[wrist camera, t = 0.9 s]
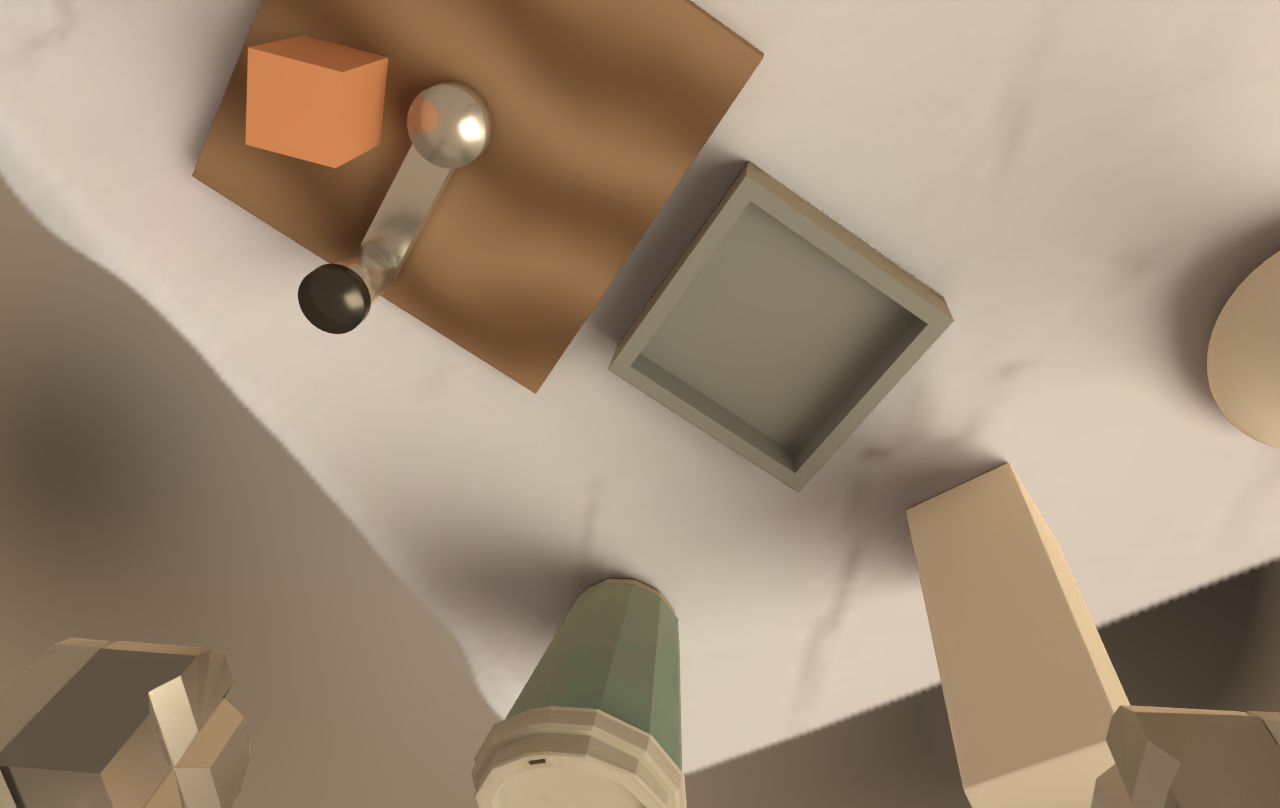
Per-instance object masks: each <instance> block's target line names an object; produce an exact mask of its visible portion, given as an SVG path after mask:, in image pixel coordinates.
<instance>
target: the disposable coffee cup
mask: <svg viewBox="0 0 1280 808" xmlns="http://www.w3.org/2000/svg"><path fill="white" fill-rule="evenodd" d="M474 760H475V764H474V767H473V771H472V778H473V783H474V787H475V794H474V795H475V798H476V802H477V806H478V808H687V806H686V794H685V780H684V774H683V772H682V746H681V699H680V651H679V631H678V618H677V617H676V616H675V614H674V610H673V609H672V607H671V606H670V605H669V603H668V602H667V601H666V600H665V598H664V597H663V596H662V594H661V593H660V592H659V591H657V590H655V589H653V588H651V587H649V586H647V585H645V584H643V583H641V582H639V581H637V580H632V579H607V580H604V581H602V582H600V583H598V584H596V585H594V586H592V587H589V588H587V589H586V591H585V592H582V593H580V595H579V596H578V598H577V600H576V601H575V603H574V605H573V606H572V608H571V610H570V611H569V613H568V615H567V616H566V618H565V620H564V621H563V623H562V625H561V627H560V628H559V630H558V632H557V633H556V635H555V637H554V638H553V640H552V642H551V643H550V645H549V647H548V648H547V650H546V652H545V653H544V655H543V657H542V658H541V660H540V662H539V663H538V665H537V667H536V668H535V670H534V672H533V673H532V675H531V677H530V678H529V680H528V682H527V683H526V685H525V687H524V688H523V690H522V692H521V694H520V695H519V697H518V699H517V700H516V702H515V704H514V705H513V707H512V709H511V710H510V712H509V714H508V715H507V717H506V719H505V720H503V721H501V722H498V723H496V724H494V725H493V727H492V729H491V731H490V732H489V734H488V736H487V738H486V739H485V741H484V743H483V745H482V746H481V748H480V750H479V751H478V753H477V755H476V757H475V758H474Z"/></svg>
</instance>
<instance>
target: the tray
mask: <svg viewBox="0 0 1280 808" xmlns="http://www.w3.org/2000/svg"><path fill="white" fill-rule="evenodd" d="M953 321H954V320H953V318H952V315H951V313H950V311H949V308H948V306H947V304H946V301H945V299H944V298H943V297H942V296H941V295H939V294H938V293H936V292H935V291H934V290H932V289H931V288H929V287H928V286H926V285H925V284H924V283H922V282H921V281H919V280H918V279H916V278H915V277H914V276H912V275H911V274H909V273H908V272H906V271H905V270H904V269H902V268H901V267H899V266H898V265H896V264H895V263H894V262H892V261H891V260H889V259H888V258H886V257H885V256H884V255H882V254H881V253H879V252H878V251H876V250H875V249H874V248H872V247H871V246H869V245H868V244H867V243H865V242H864V241H862V240H861V239H859V238H858V237H857V236H855V235H854V234H852V233H851V232H849V231H848V230H847V229H845V228H844V227H842V226H841V225H839V224H838V223H837V222H835V221H834V220H832V219H831V218H829V217H828V216H827V215H825V214H824V213H822V212H821V211H819V210H818V209H817V208H815V207H814V206H812V205H811V204H810V203H808V202H807V201H805V200H804V199H802V198H801V197H800V196H798V195H797V194H795V193H794V192H792V191H791V190H790V189H788V188H787V187H785V186H784V185H782V184H781V183H780V182H778V181H777V180H775V179H774V178H772V177H771V176H770V175H768V174H767V173H765V172H764V171H762V170H761V169H760V168H758V167H757V166H755V165H754V164H752V163H751V162H750V161H748V162H747V164H746V165H745V166H744V168H743V169H742V171H741V172H740V173H739V175H738V176H737V178H736V179H735V181H734V182H733V183H732V185H731V186H730V188H729V189H728V190H727V192H726V193H725V195H724V196H723V197H722V199H721V200H720V202H719V203H718V205H717V206H716V207H715V209H714V210H713V212H712V213H711V214H710V216H709V217H708V219H707V220H706V222H705V223H704V224H703V226H702V227H701V229H700V230H699V231H698V233H697V234H696V236H695V237H694V238H693V240H692V241H691V243H690V244H689V246H688V247H687V248H686V250H685V251H684V253H683V254H682V255H681V257H680V258H679V260H678V261H677V262H676V264H675V265H674V267H673V268H672V270H671V271H670V272H669V274H668V275H667V277H666V278H665V279H664V281H663V282H662V284H661V285H660V286H659V288H658V289H657V291H656V292H655V294H654V295H653V296H652V298H651V299H650V301H649V302H648V303H647V305H646V306H645V308H644V309H643V310H642V312H641V313H640V315H639V316H638V318H637V319H636V320H635V322H634V323H633V325H632V326H631V327H630V329H629V330H628V332H627V333H626V334H625V336H624V337H623V339H622V340H621V342H620V343H619V344H618V346H617V348H616V351H615V353H614V356H613V358H612V361H611V363H610V366H609V368H608V370H610V371H611V372H613V373H614V374H616V375H617V376H619V377H620V378H622V379H623V380H625V381H627V382H628V383H630V384H631V385H633V386H634V387H636V388H637V389H639V390H641V391H642V392H644V393H645V394H647V395H648V396H650V397H651V398H653V399H654V400H656V401H658V402H659V403H661V404H662V405H664V406H665V407H667V408H668V409H670V410H671V411H673V412H675V413H676V414H678V415H679V416H681V417H682V418H684V419H685V420H687V421H688V422H690V423H692V424H693V425H695V426H696V427H698V428H699V429H701V430H702V431H704V432H706V433H707V434H709V435H710V436H712V437H713V438H715V439H716V440H718V441H719V442H721V443H723V444H724V445H726V446H727V447H729V448H730V449H732V450H733V451H735V452H736V453H738V454H740V455H741V456H743V457H744V458H746V459H747V460H749V461H750V462H752V463H753V464H755V465H757V466H758V467H760V468H761V469H763V470H764V471H766V472H767V473H769V474H771V475H772V476H774V477H775V478H777V479H778V480H780V481H781V482H783V483H784V484H786V485H788V486H789V487H791V488H792V489H794V490H795V491H797V492H799V491H800V490H801V489H802V488H803V487H804V485H805V484H806V483H807V482H808V481H809V480H810V479H811V478H812V477H813V475H814V474H815V473H816V472H817V471H818V470H819V469H820V468H821V467H822V466H823V464H824V463H825V462H826V461H827V460H828V459H829V458H830V457H831V456H832V455H833V453H834V452H835V451H836V450H837V449H838V448H839V447H840V446H841V445H842V443H843V442H844V441H845V440H846V439H847V438H848V437H849V436H850V435H851V434H852V432H853V431H854V430H855V429H856V428H857V427H858V426H859V425H860V424H861V422H862V421H863V420H864V419H865V418H866V417H867V416H868V415H869V414H870V413H871V411H872V410H873V409H874V408H875V407H876V406H877V405H878V404H879V403H880V402H881V400H882V399H883V398H884V397H885V396H886V395H887V394H888V393H889V392H890V390H891V389H892V388H893V387H894V386H895V385H896V384H897V383H898V382H899V381H900V379H901V378H902V377H903V376H904V375H905V374H906V373H907V372H908V371H909V370H910V368H911V367H912V366H913V365H914V364H915V363H916V362H917V361H918V360H919V358H920V357H921V356H922V355H923V354H924V353H925V352H926V351H927V350H928V349H929V347H930V346H931V345H932V344H933V343H934V342H935V341H936V340H937V339H938V338H939V336H940V335H941V334H942V333H943V332H944V331H945V330H946V329H947V328H948V326H949V325H950V324H951V323H952V322H953Z"/></svg>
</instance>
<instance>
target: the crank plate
mask: <svg viewBox="0 0 1280 808" xmlns="http://www.w3.org/2000/svg"><path fill="white" fill-rule="evenodd" d="M302 35H305V36H309V37H313V38H316V39H320V40H324V41H328V42H332V43H336V44H339V45H343V46H347V47H351V48H355V49H358V50H362V51H366V52H370V53H374V54H378V55H381V56H385V57H388V66H387V77H386V87H385V98H384V109H383V119H382V130H381V141H380V145H378V146H376V147H374V148H373V149H371V150H369V151H367V152H365V153H363V154H361V155H359V156H358V157H356V158H354V159H352V160H350V161H348V162H346V163H345V164H343V165H341V166H339V167H337V168H333V167H329V166H325V165H321V164H317V163H314V162H310V161H306V160H302V159H299V158H295V157H291V156H287V155H283V154H280V153H276V152H272V151H268V150H265V149H261V148H257V147H253V146H249V145H246V144H245V143H246V105H247V67H248V47H253V46H257V45H261V44H266V43H270V42H275V41H279V40H284V39H288V38H293V37H297V36H302ZM763 55H764V53H762V52H761V51H759V50H758V49H757V48H755V47H754V46H753V45H751V44H750V43H748V42H747V41H746V40H744V39H743V38H741V37H740V36H739V35H737V34H736V33H735V32H733V31H732V30H730V29H729V28H728V27H726V26H725V25H723V24H722V23H721V22H719V21H718V20H717V19H715V18H714V17H712V16H711V15H710V14H708V13H707V12H706V11H704V10H703V9H701V8H700V7H699V6H697V5H696V4H694V3H693V2H692V1H690V0H262V1H261V3H260V6H259V8H258V11H257V13H256V16H255V18H254V21H253V23H252V26H251V29H250V31H249V34H248V36H247V39H246V41H245V44H244V46H243V49H242V51H241V54H240V56H239V59H238V61H237V64H236V66H235V69H234V71H233V74H232V76H231V79H230V81H229V84H228V86H227V89H226V92H225V94H224V97H223V99H222V102H221V104H220V107H219V109H218V112H217V114H216V117H215V119H214V122H213V124H212V127H211V129H210V132H209V134H208V137H207V139H206V142H205V144H204V147H203V150H202V152H201V155H200V157H199V160H198V162H197V165H196V167H195V170H194V172H193V175H192V176H193V177H194V178H196V179H198V180H199V181H201V182H202V183H204V184H205V185H207V186H209V187H210V188H212V189H213V190H215V191H216V192H218V193H220V194H221V195H223V196H224V197H226V198H228V199H229V200H231V201H232V202H234V203H235V204H237V205H239V206H240V207H242V208H243V209H245V210H246V211H248V212H250V213H251V214H253V215H254V216H256V217H257V218H259V219H261V220H262V221H264V222H265V223H267V224H269V225H270V226H272V227H273V228H275V229H276V230H278V231H280V232H281V233H283V234H284V235H286V236H287V237H289V238H291V239H292V240H294V241H295V242H297V243H299V244H300V245H302V246H303V247H305V248H306V249H308V250H310V251H311V252H313V253H314V254H316V255H317V256H319V257H321V258H322V259H324V260H325V261H327V262H329V263H330V264H335V263H336V262H338V261H339V260H340V259H342V258H343V257H344V256H346V255H347V254H348V253H350V252H351V251H352V250H354V249H355V248H356V247H358V246H359V245H361V243H362V241H363V239H364V237H365V235H366V233H367V231H368V229H369V228H370V226H371V224H372V222H373V220H374V218H375V216H376V214H377V212H378V210H379V208H380V206H381V204H382V202H383V200H384V198H385V196H386V194H387V192H388V190H389V189H390V187H391V185H392V183H393V181H394V179H395V177H396V175H397V173H398V171H399V169H400V167H401V165H402V163H403V161H404V159H405V157H406V155H407V153H408V151H409V150H410V148H411V146H412V142H411V139H410V137H409V133H408V128H407V117H408V112H409V108H410V106H411V104H412V102H413V100H414V99H415V98H416V97H417V96H418V95H419V94H420V93H421V92H422V91H424V90H426V89H428V88H430V87H432V86H435V85H437V84H439V83H442V82H447V81H456V82H461V83H465V84H467V85H469V86H471V87H473V88H474V89H475V90H477V91H478V92H479V93H480V94H481V95H482V96H483V97H484V98H485V100H486V101H487V103H488V105H489V107H490V109H491V112H492V115H493V119H494V132H493V137H492V140H491V142H490V144H489V146H488V148H487V149H486V150H485V151H484V152H483V153H482V154H481V155H480V156H479V157H477V158H476V159H475V160H473V161H472V162H470V163H469V164H467V165H465V166H463V167H459V168H456V169H455V171H454V173H453V174H452V176H451V178H450V180H449V182H448V184H447V185H446V187H445V189H444V191H443V193H442V195H441V196H440V198H439V200H438V202H437V204H436V206H435V207H434V209H433V211H432V213H431V215H430V217H429V218H428V220H427V222H426V224H425V226H424V228H423V229H422V231H421V233H420V235H419V237H418V239H417V240H416V242H415V244H414V246H413V248H412V250H411V251H410V253H409V255H408V257H407V259H406V261H405V262H404V264H403V266H402V268H401V270H400V272H399V273H398V275H397V277H396V279H395V281H394V283H393V284H392V286H391V287H390V288H389V289H388V290H387V291H386V292H385V293H384V294H383V295H382V294H381V296H382V297H384V298H385V299H387V300H389V301H390V302H392V303H393V304H395V305H396V306H398V307H400V308H401V309H403V310H404V311H406V312H407V313H409V314H411V315H412V316H414V317H415V318H417V319H419V320H420V321H422V322H423V323H425V324H426V325H428V326H430V327H431V328H433V329H434V330H436V331H437V332H439V333H441V334H442V335H444V336H445V337H447V338H449V339H450V340H452V341H453V342H455V343H456V344H458V345H460V346H461V347H463V348H464V349H466V350H467V351H469V352H471V353H472V354H474V355H475V356H477V357H478V358H480V359H482V360H483V361H485V362H486V363H488V364H490V365H491V366H493V367H494V368H496V369H497V370H499V371H501V372H502V373H504V374H505V375H507V376H508V377H510V378H512V379H513V380H515V381H516V382H518V383H520V384H521V385H523V386H524V387H526V388H527V389H529V390H531V391H532V392H534V393H535V394H536V393H537V391H538V390H539V388H540V387H541V385H542V384H543V382H544V381H545V379H546V378H547V376H548V375H549V373H550V372H551V370H552V369H553V367H554V366H555V365H556V363H557V362H558V360H559V359H560V357H561V356H562V354H563V353H564V351H565V350H566V348H567V347H568V345H569V344H570V342H571V341H572V339H573V338H574V336H575V335H576V333H577V332H578V331H579V329H580V328H581V326H582V325H583V323H584V322H585V320H586V319H587V317H588V316H589V314H590V313H591V311H592V310H593V308H594V307H595V305H596V304H597V302H598V301H599V299H600V298H601V297H602V295H603V294H604V292H605V291H606V289H607V288H608V286H609V285H610V283H611V282H612V280H613V279H614V277H615V276H616V274H617V273H618V271H619V270H620V268H621V267H622V266H623V264H624V263H625V261H626V260H627V258H628V257H629V255H630V254H631V252H632V251H633V249H634V248H635V246H636V245H637V243H638V242H639V240H640V239H641V237H642V236H643V234H644V233H645V232H646V230H647V229H648V227H649V226H650V224H651V223H652V221H653V220H654V218H655V217H656V215H657V214H658V212H659V211H660V209H661V208H662V206H663V205H664V203H665V202H666V201H667V199H668V198H669V196H670V195H671V193H672V192H673V190H674V189H675V187H676V186H677V184H678V183H679V181H680V180H681V178H682V177H683V175H684V174H685V172H686V171H687V169H688V168H689V167H690V165H691V164H692V162H693V161H694V159H695V158H696V156H697V155H698V153H699V152H700V150H701V149H702V147H703V146H704V144H705V143H706V141H707V140H708V138H709V137H710V135H711V134H712V133H713V131H714V130H715V128H716V127H717V125H718V124H719V122H720V121H721V119H722V118H723V116H724V115H725V113H726V112H727V110H728V109H729V107H730V106H731V104H732V103H733V102H734V100H735V99H736V97H737V96H738V94H739V93H740V91H741V90H742V88H743V87H744V85H745V84H746V82H747V81H748V79H749V78H750V76H751V75H752V73H753V72H754V70H755V69H756V68H757V66H758V65H759V63H760V62H761V60H762V59H763Z"/></svg>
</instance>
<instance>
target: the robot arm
mask: <svg viewBox="0 0 1280 808" xmlns="http://www.w3.org/2000/svg"><path fill="white" fill-rule="evenodd" d="M233 683H234V680H233V677H232V674H231V671H230V668H229V665H228V662H227V659H226V656H225V655H224V654H222V653H219V652H217V651H215V650H212V649H206V648H194V647H182V646H171V645H159V644H148V643H137V642H126V641H118V642H111V641H101V640H90V639H80V638H70V639H67V640H64V641H61V642H59V643H56V644H53V645H52V646H51V647H50V648H49V649H48V650H47V651H46V652H45V653H44V654H43V655H42V656H40V657H39V658H38V659H37V660H36V661H35V662H34V663H33V664H32V665H31V666H30V667H29V668H28V669H27V670H26V671H25V672H24V673H23V674H22V675H21V676H20V677H18V678H17V679H16V681H14V682H13V683H12V684H11V685H10V686H9V687H8V688H7V689H6V690H5V691H4V692H3V693H2V694H1V695H0V808H231V807H232V805H233V803H234V801H235V800H236V798H237V797H238V795H239V793H240V791H241V787H242V784H243V780H244V777H245V774H246V770H247V767H248V763H249V735H248V732H247V727H246V723H245V720H244V717H243V716H242V715H241V714H240V713H239V712H238V711H237V710H236V709H235V708H233V707H232V706H231V705H230V704H229V703H228V702H227V701H226V700H225V699H224V698H225V696H226V694H227V693H228V691H229V690H230V688H231V686H232V685H233ZM1106 742H1107V744H1108V747H1109V749H1110V752H1111V754H1112V756H1113V759H1114V761H1115V764H1114V765H1113V766H1112V767H1110V768H1109V769H1108V770H1107V771H1105V772H1104V773H1103V774H1101V775H1100V776H1099V777H1097V778H1096V782H1095V788H1094V793H1093V798H1092V803H1091V808H1280V713H1277V712H1255V711H1248V712H1246V713H1242V712H1236V711H1217V710H1200V709H1181V708H1163V707H1144V706H1127V705H1120V706H1119V707H1118V709H1117V710H1116V712H1115V713H1114V714H1113V716H1112V717H1111V721H1110V725H1109V729H1108V733H1107V736H1106Z"/></svg>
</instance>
